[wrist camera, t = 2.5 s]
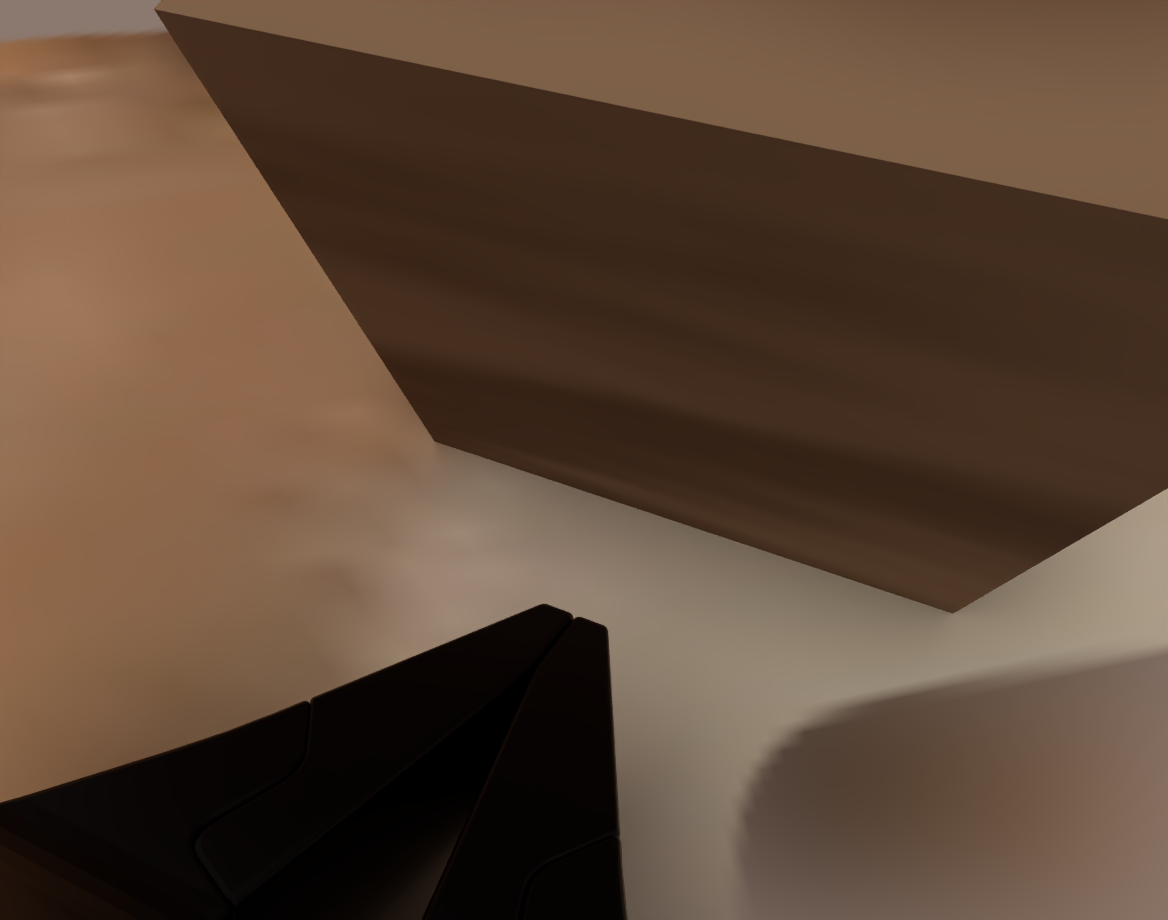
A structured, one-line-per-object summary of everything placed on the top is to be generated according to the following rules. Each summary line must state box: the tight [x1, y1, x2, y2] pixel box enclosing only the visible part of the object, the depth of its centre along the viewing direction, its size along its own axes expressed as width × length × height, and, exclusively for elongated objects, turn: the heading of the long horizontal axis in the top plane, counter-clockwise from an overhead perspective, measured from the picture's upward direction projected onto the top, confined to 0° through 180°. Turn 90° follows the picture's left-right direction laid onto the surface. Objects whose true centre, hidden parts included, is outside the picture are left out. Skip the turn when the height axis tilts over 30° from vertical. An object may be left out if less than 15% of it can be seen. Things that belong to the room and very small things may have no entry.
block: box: [154, 0, 1168, 613], centre depth 12 cm, size 4×12×11 cm, turn 69°
